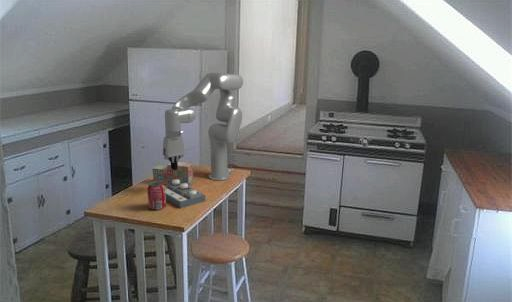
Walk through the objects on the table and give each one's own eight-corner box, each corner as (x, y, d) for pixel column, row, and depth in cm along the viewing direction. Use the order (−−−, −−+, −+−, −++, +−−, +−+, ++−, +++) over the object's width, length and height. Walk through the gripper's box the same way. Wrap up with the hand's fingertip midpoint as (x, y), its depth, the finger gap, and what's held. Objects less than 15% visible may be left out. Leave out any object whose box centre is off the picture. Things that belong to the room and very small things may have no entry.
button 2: (193, 193, 196) (193, 189, 196) (198, 195, 193) (198, 191, 193) (187, 195, 194) (186, 191, 193) (191, 197, 191) (191, 193, 190)
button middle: (185, 186, 202) (185, 182, 201) (189, 188, 199) (189, 184, 198) (178, 187, 199) (178, 184, 199) (182, 190, 196) (182, 186, 196)
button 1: (177, 182, 207) (177, 178, 207) (181, 184, 205) (181, 180, 204) (170, 183, 205) (170, 180, 204) (174, 185, 202) (174, 182, 201)
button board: (181, 188, 212) (180, 180, 211) (205, 201, 195) (205, 192, 194) (157, 194, 203) (156, 186, 202) (180, 208, 186) (180, 199, 185)
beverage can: (159, 202, 192) (157, 179, 189) (169, 207, 188) (168, 183, 185) (145, 207, 186) (143, 183, 183) (155, 212, 182) (154, 187, 179)
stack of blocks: (153, 184, 219) (151, 163, 216) (158, 180, 225) (157, 160, 221) (188, 188, 213) (187, 166, 210) (193, 184, 219) (192, 163, 216)
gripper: (182, 131, 205) (183, 165, 210) (156, 134, 196) (157, 170, 200) (190, 133, 200) (190, 168, 204) (163, 137, 190) (164, 173, 195)
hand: (174, 169), depth 202 cm, fingers closed
